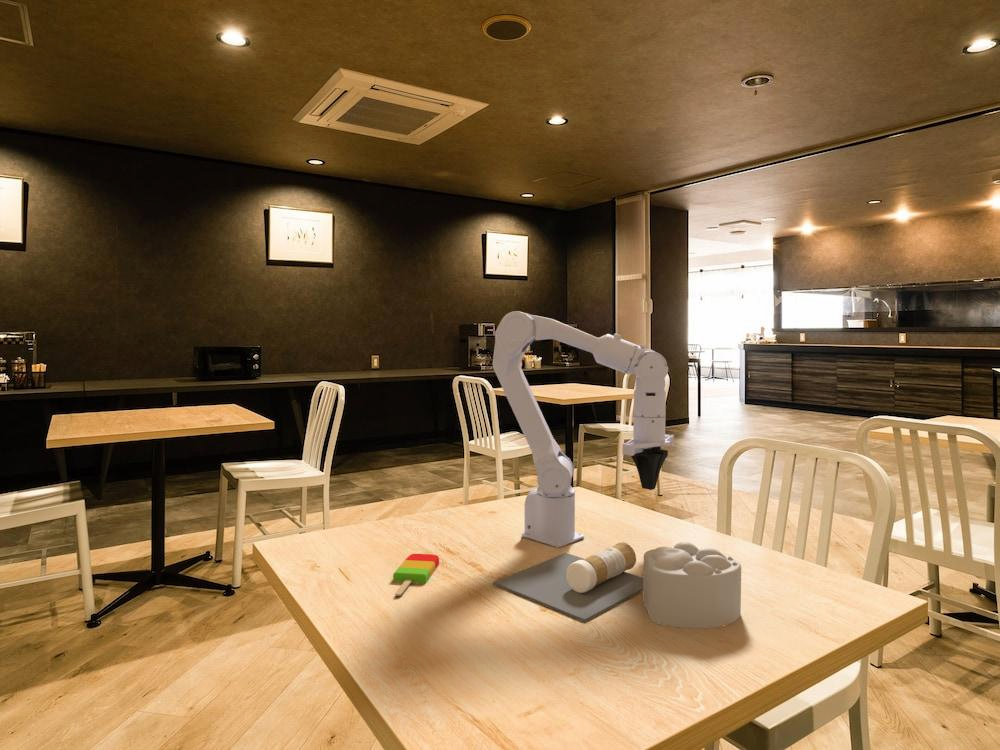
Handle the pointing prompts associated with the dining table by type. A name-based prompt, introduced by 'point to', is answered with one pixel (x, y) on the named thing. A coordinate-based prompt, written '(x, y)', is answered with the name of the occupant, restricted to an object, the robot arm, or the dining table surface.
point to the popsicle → (415, 570)
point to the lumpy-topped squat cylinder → (691, 586)
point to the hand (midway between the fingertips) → (648, 488)
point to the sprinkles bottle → (600, 567)
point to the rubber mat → (569, 588)
